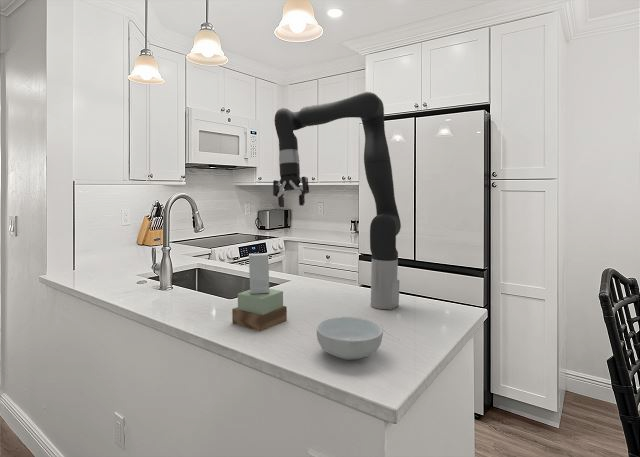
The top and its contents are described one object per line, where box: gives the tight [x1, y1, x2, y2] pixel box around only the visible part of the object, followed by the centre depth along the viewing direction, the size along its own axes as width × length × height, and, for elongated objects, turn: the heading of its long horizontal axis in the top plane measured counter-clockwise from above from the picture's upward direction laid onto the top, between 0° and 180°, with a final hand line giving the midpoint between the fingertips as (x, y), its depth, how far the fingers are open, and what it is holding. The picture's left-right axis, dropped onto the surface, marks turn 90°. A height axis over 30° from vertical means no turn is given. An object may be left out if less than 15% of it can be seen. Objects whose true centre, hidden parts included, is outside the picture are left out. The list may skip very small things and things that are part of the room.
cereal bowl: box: [316, 316, 384, 361], centre depth 104 cm, size 17×17×7 cm
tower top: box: [237, 288, 284, 315], centre depth 126 cm, size 10×10×5 cm
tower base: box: [231, 305, 288, 332], centre depth 127 cm, size 12×12×5 cm
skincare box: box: [248, 252, 270, 294], centre depth 126 cm, size 6×4×12 cm
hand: (291, 206), depth 151 cm, fingers open, 8 cm apart
